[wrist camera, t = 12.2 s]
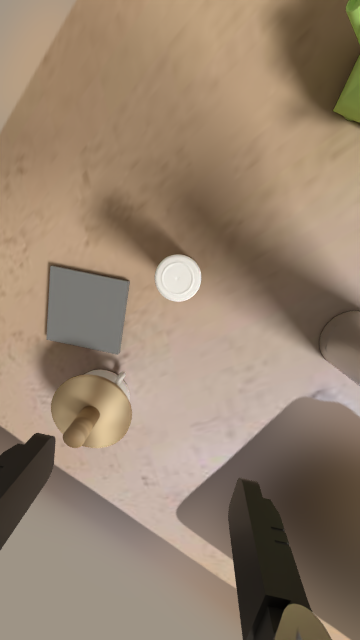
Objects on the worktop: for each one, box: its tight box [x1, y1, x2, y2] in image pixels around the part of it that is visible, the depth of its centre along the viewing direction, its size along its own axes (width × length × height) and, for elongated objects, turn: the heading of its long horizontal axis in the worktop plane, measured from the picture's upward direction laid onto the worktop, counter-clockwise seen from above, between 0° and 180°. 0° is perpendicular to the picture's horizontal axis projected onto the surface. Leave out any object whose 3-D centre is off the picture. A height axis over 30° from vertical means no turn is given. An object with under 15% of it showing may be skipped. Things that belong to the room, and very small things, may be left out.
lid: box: [51, 374, 132, 448], centre depth 33 cm, size 12×12×6 cm
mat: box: [47, 266, 130, 355], centre depth 38 cm, size 12×12×1 cm
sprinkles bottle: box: [155, 254, 201, 302], centre depth 29 cm, size 5×5×13 cm
